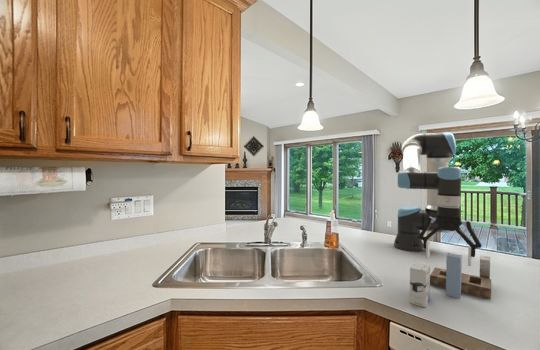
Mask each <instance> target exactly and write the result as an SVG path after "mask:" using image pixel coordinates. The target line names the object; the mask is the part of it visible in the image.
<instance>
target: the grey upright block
mask: <svg viewBox="0 0 540 350" xmlns="http://www.w3.org/2000/svg"><path fill="white" fill-rule="evenodd" d="M479 277H483V278H488V279H491V256H487V255H482V254H480V257H479Z"/></svg>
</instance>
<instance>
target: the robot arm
mask: <svg viewBox="0 0 540 350" xmlns="http://www.w3.org/2000/svg"><path fill="white" fill-rule="evenodd" d="M456 153H457V145H456V139H455V136H454V134H453V133H452V132H433V133H418V134H417V133H416V134H414V135H412V136H410V137H408V138H407V139H406V140H405V141H404V142H403V144H402V147H401V154H402V156H403V161H402V171H399V172H398V173H397V187H398V188H400V189H406V190H410V189H411V190H412V189H413V190H428V204H427V205H426V206H425V207H424V208H425V209H422V208H421V207H420V206H403V207H400V208H398V211H397V234H396V236H395V238H394V241H393V246H394V247H395V248H397V249H400V250H403V251H404V250H405V251H410V252H411V251H412V252H421V251H423V250H425V258H426V259H429V258H430V253H431V252H430V247H431V246H430V244H431V241H430V240H429V239H430V238H431V237H432V236H434V235H435V234H436V233H445V234H446V233H450V232H456V233H457V235H459V236H460V237H461V239H463V240H464V242H465V243H466V244H467V245H468V250H467V254H468V255H467V257H468V258H467V266H468V267H472V258H475V257H476V249H481V248H482V246H483V245H482V243H481V240H479V238H478V235H477V234H476V233H475V230H474V229H473V228H472V223H471V221H470V220H461V219H462V218H461V217H462V216H461V211H462V210H461V208H460V207H461V206H462V177H463V176H462V168H461V167H459V166H449V162H450V161H451V160H452V159H453V156H454V155H455V154H456ZM424 155H425V156H426V159H427V160H428V161H429V167H428V168H429V171H422V167H421V166H422V165H421V156H424ZM461 225H463V226H464V227H465V228H466V230H467V231H468V232H469V235H470V236H471V238H472V239H473V241H472V240H471V239H470V238H469V236H468V235H467V234H466V233H465V232H464V231H463V229H461V227H460V226H461ZM426 232H429V233H428V234H427V235H426V236H425V234H426Z"/></svg>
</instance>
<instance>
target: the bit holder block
mask: <svg viewBox="0 0 540 350" xmlns="http://www.w3.org/2000/svg"><path fill="white" fill-rule="evenodd" d="M433 268H434V269H432V271H431V272H430V285H432V286H437V287H441V288H444V289H446V269H444V268H440V267H433ZM461 293H465V294H468V295H473V296H476V297H480V296H481V297H480V298H484V297H486V298H485V299H488V298H489V299H488V300H491V298H492V278H490V279H488V278H483V277H480V276H477V275H472V274H468V273H462V272H461Z"/></svg>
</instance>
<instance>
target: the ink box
mask: <svg viewBox="0 0 540 350" xmlns="http://www.w3.org/2000/svg"><path fill="white" fill-rule="evenodd" d="M430 274H431V264H428V263H424V262H418V261H414V263H413V264H412V265H411V266H410V267H409V303H410V304H412V305H416V306H419V307H422V308H427V305H428V302H429V301H430V296H431V295H430V293H431V292H430V290H431V288H430V287H431V286H430V285H431V284H430Z"/></svg>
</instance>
